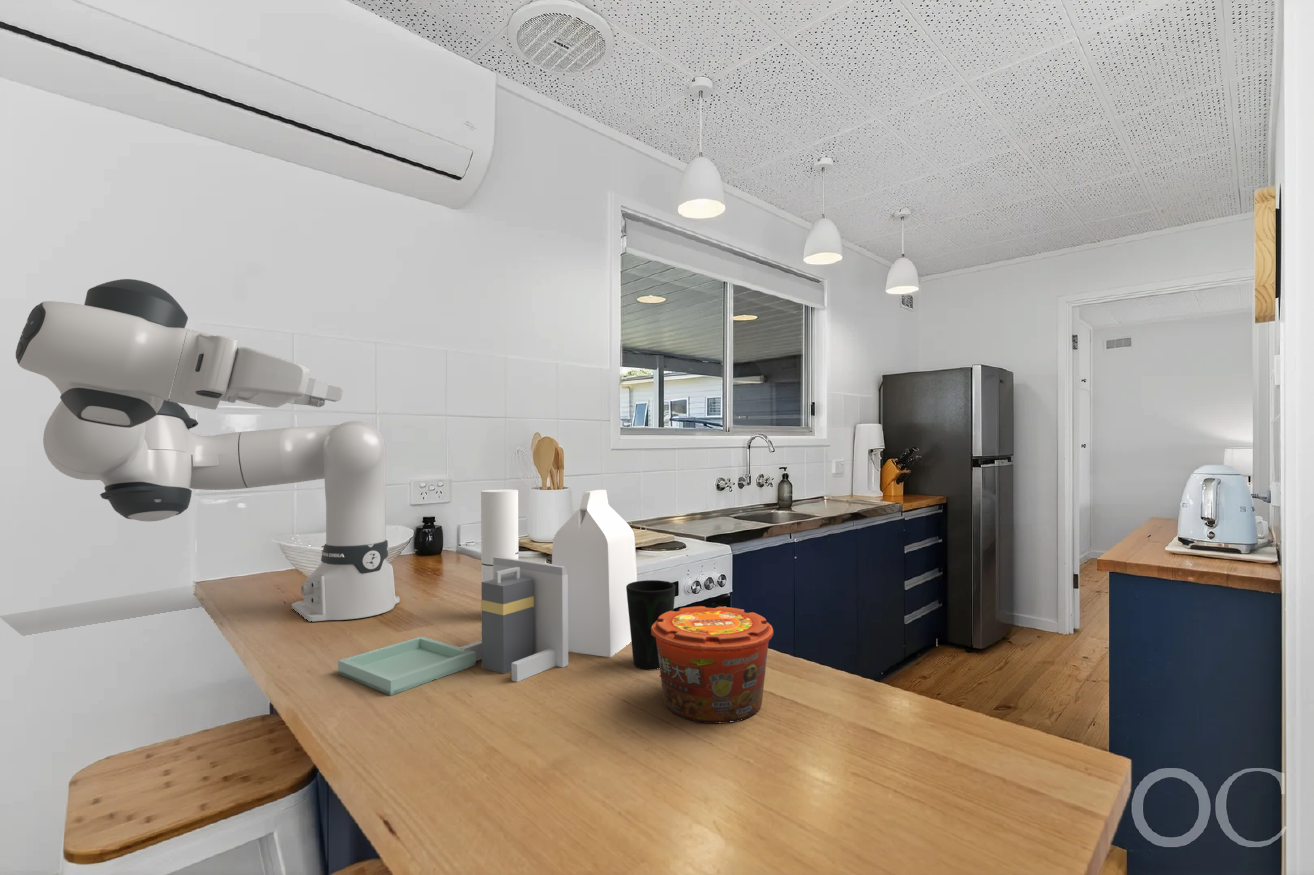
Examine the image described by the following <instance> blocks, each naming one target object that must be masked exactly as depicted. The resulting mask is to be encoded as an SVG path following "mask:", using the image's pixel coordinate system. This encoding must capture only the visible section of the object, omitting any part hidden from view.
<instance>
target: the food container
mask: <svg viewBox="0 0 1314 875" xmlns="http://www.w3.org/2000/svg"><path fill="white" fill-rule="evenodd" d="M774 632H775V631H774V627H773V625H772V624H770V623H769V622H767V619H766V618H765V617H764V616H762V615H760V614H758V613H756V612H753V611H752V612H745V609H741V608H736V607H727V606H717V607H714V608H713V607H706V606H702V605H699V606H689V607H680V608H679V609H678V610H677V611H669V612H666V613H664V614H662V615H660V616H659V618H658V620H657V621H656V622H655V623H654V624H653V625H652V627H651V635H652V636H653V637H656V643H657V650H658V658H659V666H660V669H659V671H660V672H659V673H660V681H661V687H662V688H661V689H662V698H663V703H664V705H665V706H666V708H667V709H668V710H669V711H670V712H672V713H673V714H675V715H676V716H679V717H681V718H683V717H684V718H683V719H686V720H688V719H689V721H693V722H697V721H699V722H698V723H704V722H707V724H708V723H709V724H723V723H722V722H729V723H730V721H736V722H738V721H737V720H740V721H742V720H741V719H744V718H746V719H748V718H750V717H752V716H754V715H755V714H757V713H758V712H759V711H760V710H761V708H762V705H763V697H764V686H765V677H766V671H767V670H766V668H767V658H768V652H769V651H768V649H769V642H770V641H771V639H772V638H773V636H774ZM758 710H759V711H758ZM756 712H757V713H756ZM753 714H754V715H753ZM751 715H752V716H751ZM747 717H748V718H747ZM744 720H745V719H744ZM719 722H721V723H719Z"/></svg>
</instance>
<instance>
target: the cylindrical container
mask: <svg viewBox="0 0 1314 875" xmlns="http://www.w3.org/2000/svg"><path fill="white" fill-rule="evenodd" d="M480 511H481V512H480V513H481V514H480V521H481V522H480V528H481V529H480V530H481V532H480V536H481V538H480V539H481V540H480V541H481V542H480V543H481V544H480V546H481V547H480V548H481V549H480V550H481V551H480V552H481V554H480V555H481V556H480V558H481V561H480V562H481V563H480V564H481V566H480V568H481V570H480V571H481V575H480V576H481V577H480V578H481V581H480V582H481V591H480V592H481V596H482V582H484V581H489V580H493V557H497V556H498V557H504V558H511V559H518V560H519V490H518V489H514V488H513V489H510V488H509V489H508V488H507V489H504V488H503V489H499V488H498V489H485V490H480Z"/></svg>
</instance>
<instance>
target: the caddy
mask: <svg viewBox="0 0 1314 875" xmlns="http://www.w3.org/2000/svg"><path fill="white" fill-rule="evenodd" d="M511 572H514V575H510V576H506V577H502V578H501V575H502V574H506V573H511ZM533 607H534V596H533V579H531V578H525V577H520V567H515V568H510V569H505V570H501V571H496V572H495V579H493V580H489V581H484V582H482V595H481V599H480V610H481V640H482V659H481V668H483V669H486V670H489V671H492V672H496V673H500V674H503V675H505V674H507V673H511V672H512V663H513V662H515V661H518V660H520V659H523V658H526V657H528V656H531V655H534V609H533Z"/></svg>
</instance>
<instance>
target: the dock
mask: <svg viewBox="0 0 1314 875" xmlns="http://www.w3.org/2000/svg"><path fill="white" fill-rule="evenodd" d="M515 567H520V577H525V578H531V579H533V596H534V607H533V609H534V655H531V656H528V657H526V658H523V659H520V660H518V661H515V662H513V663H512V671H511V681H513V682H516V683H519V682H520V681H524V680H526V679H528V678H531V677H533V676H536V675H538V674H539V673H543V672H544V671H547V670H550V669H552V668H554V667H559V668H565V667H568V666H569V652H568V574H566V567H564V566H558V565H552V563H544V562H543V563H542V562H537V561H530V560H524V559H519V558H518V559H511V558H504V557H498V556H497V557H493V579H495V572H496V571H501V570H505V569H510V568H515ZM510 575H514V572H511V573H506V574H502V575H501V578H502V577H506V576H510ZM469 650H470V651H474V652H476V662H477V661H480V660H482V639H481V640H479V641H475V642H472V643H468V644H466V645H463V646H462V645H461V646H460V651H462V652H466V651H469Z"/></svg>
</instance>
